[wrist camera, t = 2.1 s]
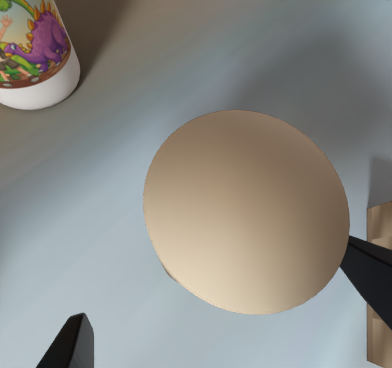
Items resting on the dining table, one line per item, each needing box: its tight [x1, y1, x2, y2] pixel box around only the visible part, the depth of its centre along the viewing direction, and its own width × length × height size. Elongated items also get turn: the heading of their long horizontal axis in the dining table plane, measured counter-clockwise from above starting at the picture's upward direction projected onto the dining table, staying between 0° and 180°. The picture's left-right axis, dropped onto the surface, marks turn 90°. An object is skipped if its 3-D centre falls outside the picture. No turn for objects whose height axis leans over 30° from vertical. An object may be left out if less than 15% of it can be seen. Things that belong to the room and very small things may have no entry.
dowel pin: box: [143, 110, 350, 315], centre depth 11 cm, size 4×4×14 cm
